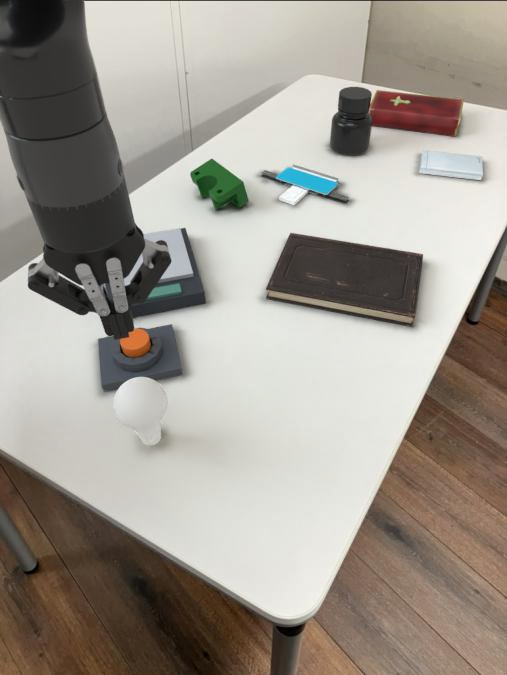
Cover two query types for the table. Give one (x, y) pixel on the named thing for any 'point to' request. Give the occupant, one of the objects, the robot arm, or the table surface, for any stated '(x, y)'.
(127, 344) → the button
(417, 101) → the hardcover book
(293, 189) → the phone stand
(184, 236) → the scale
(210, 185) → the clamp
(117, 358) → the control unit
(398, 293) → the hardcover book
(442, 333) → the table surface
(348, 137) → the ink bottle
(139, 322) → the table surface
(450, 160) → the hard drive
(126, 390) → the lightbulb
